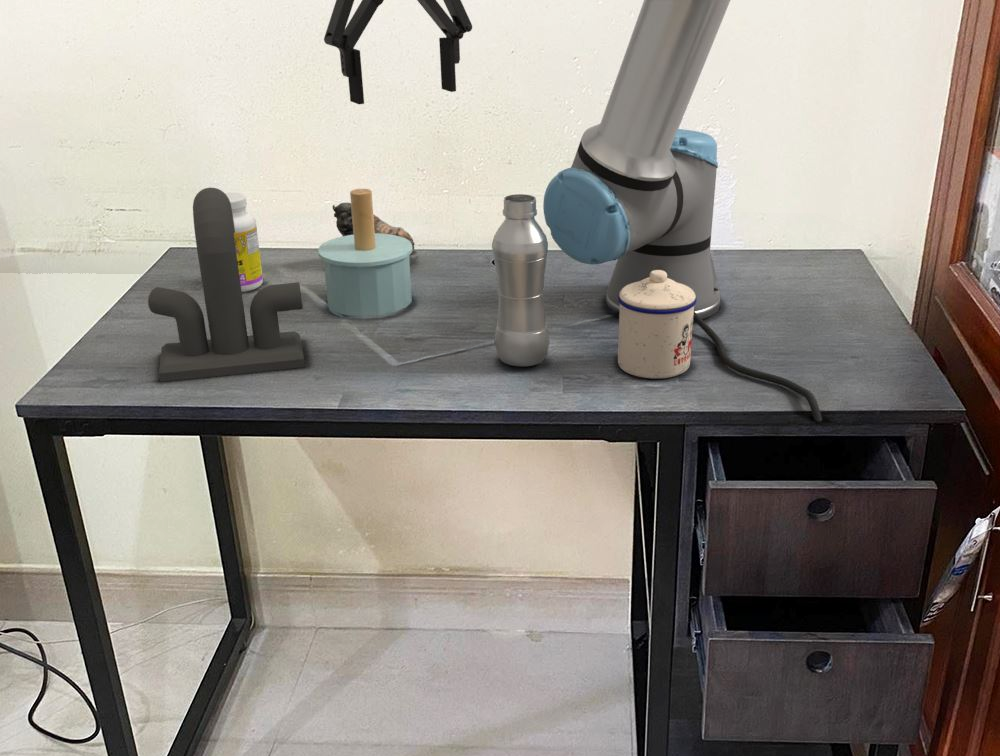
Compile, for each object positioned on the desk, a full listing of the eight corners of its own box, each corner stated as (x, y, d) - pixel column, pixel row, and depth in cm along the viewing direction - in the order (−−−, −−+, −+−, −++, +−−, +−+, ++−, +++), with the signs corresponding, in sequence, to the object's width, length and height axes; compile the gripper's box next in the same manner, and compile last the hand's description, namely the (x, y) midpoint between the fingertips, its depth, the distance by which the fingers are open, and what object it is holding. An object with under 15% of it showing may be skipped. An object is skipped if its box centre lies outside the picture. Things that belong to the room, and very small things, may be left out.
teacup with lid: (689, 383, 133) (696, 287, 128) (611, 378, 135) (614, 283, 129) (695, 344, 144) (701, 253, 138) (622, 339, 145) (626, 250, 139)
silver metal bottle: (532, 377, 136) (531, 209, 126) (484, 365, 139) (479, 201, 129) (559, 358, 140) (560, 195, 130) (512, 347, 144) (509, 188, 134)
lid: (428, 260, 152) (425, 195, 148) (339, 277, 147) (333, 210, 143) (389, 236, 162) (385, 174, 157) (305, 251, 157) (298, 187, 152)
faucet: (301, 320, 153) (284, 169, 143) (310, 366, 140) (291, 203, 130) (161, 334, 150) (134, 180, 140) (156, 382, 137) (126, 216, 127)
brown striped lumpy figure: (418, 260, 174) (414, 193, 169) (420, 275, 168) (416, 207, 163) (338, 264, 173) (332, 197, 168) (337, 279, 167) (331, 211, 162)
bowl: (425, 309, 156) (422, 256, 152) (347, 326, 151) (342, 271, 147) (391, 285, 164) (387, 234, 161) (316, 300, 160) (310, 247, 156)
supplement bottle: (207, 290, 164) (193, 201, 157) (233, 276, 169) (221, 189, 163) (247, 296, 162) (235, 205, 155) (272, 281, 167) (261, 193, 160)
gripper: (465, -89, 150) (471, 81, 161) (286, -79, 139) (305, 103, 150) (494, -87, 144) (499, 89, 155) (310, -76, 134) (328, 112, 144)
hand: (404, 96), depth 152 cm, fingers open, 13 cm apart
